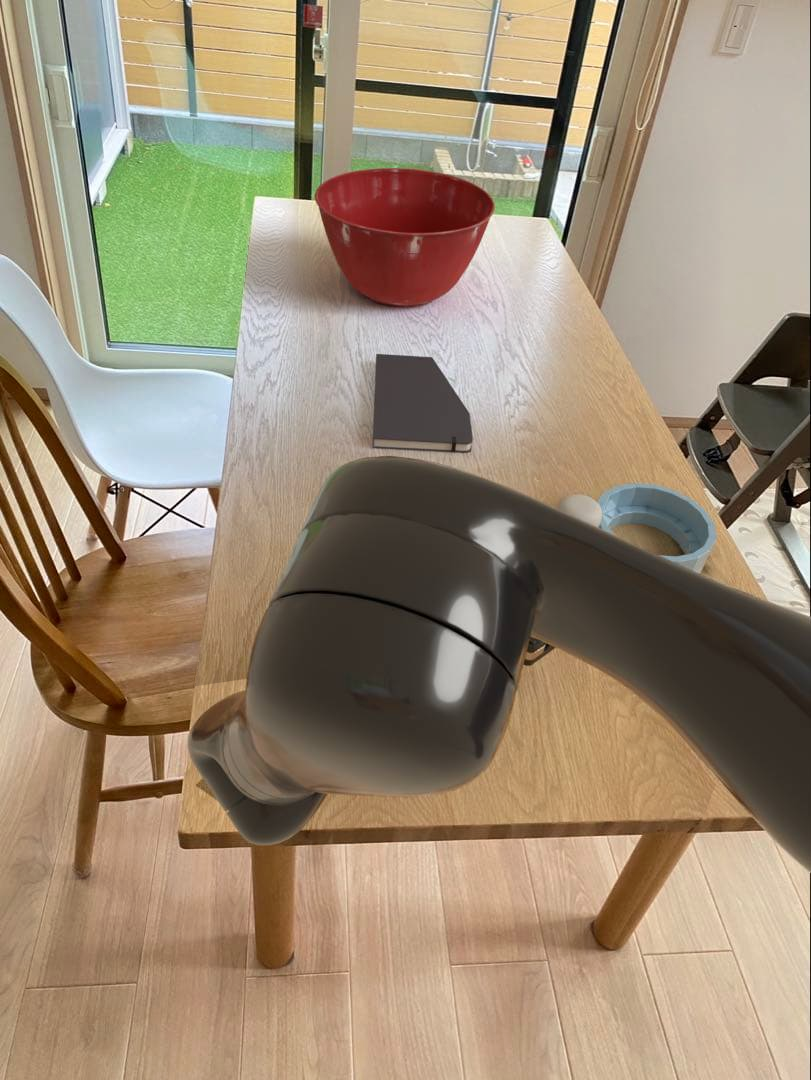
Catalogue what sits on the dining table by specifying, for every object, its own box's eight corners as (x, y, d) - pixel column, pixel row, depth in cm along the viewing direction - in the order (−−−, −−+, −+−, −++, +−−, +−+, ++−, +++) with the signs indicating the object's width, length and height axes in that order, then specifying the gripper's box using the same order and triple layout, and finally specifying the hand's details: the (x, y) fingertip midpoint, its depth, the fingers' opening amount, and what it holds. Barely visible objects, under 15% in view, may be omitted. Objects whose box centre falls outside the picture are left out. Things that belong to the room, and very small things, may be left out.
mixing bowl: (330, 333, 120) (331, 233, 110) (304, 257, 141) (302, 166, 130) (503, 325, 127) (519, 229, 116) (454, 252, 147) (464, 165, 136)
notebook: (375, 363, 115) (372, 448, 99) (376, 353, 114) (372, 438, 98) (461, 368, 116) (471, 453, 100) (463, 358, 114) (473, 443, 99)
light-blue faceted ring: (721, 590, 85) (741, 549, 80) (617, 611, 81) (633, 570, 77) (659, 515, 93) (674, 475, 89) (563, 532, 90) (574, 491, 86)
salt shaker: (590, 595, 82) (622, 500, 74) (569, 629, 79) (599, 533, 70) (540, 572, 85) (565, 477, 76) (517, 604, 81) (540, 507, 72)
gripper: (494, 669, 58) (617, 570, 67) (365, 567, 65) (492, 489, 74) (480, 727, 63) (596, 628, 72) (362, 626, 70) (481, 547, 79)
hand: (543, 557), depth 73 cm, fingers open, 8 cm apart
